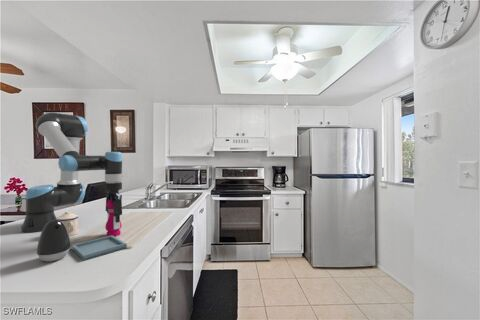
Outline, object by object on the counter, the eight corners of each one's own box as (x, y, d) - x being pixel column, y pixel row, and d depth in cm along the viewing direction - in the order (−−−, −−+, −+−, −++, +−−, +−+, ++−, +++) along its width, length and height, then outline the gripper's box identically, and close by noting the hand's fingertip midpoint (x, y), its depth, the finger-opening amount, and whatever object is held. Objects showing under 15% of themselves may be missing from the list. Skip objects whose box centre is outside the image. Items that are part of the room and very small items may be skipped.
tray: (71, 249, 96) (71, 245, 96) (111, 239, 109) (111, 235, 109) (83, 260, 86) (83, 255, 86) (126, 248, 98) (126, 243, 98)
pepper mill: (114, 238, 110) (114, 197, 110) (101, 236, 112) (101, 196, 112) (124, 233, 118) (124, 195, 117) (112, 232, 119) (112, 194, 119)
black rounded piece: (43, 267, 81) (42, 225, 80) (32, 260, 86) (32, 220, 86) (75, 257, 89) (75, 218, 89) (64, 251, 95) (64, 215, 95)
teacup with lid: (53, 234, 114) (53, 212, 114) (74, 230, 121) (74, 208, 121) (60, 240, 107) (60, 216, 107) (83, 235, 114) (83, 212, 114)
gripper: (130, 183, 111) (129, 229, 111) (113, 180, 124) (113, 221, 124) (113, 184, 105) (113, 233, 105) (98, 181, 118) (98, 224, 118)
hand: (113, 227), depth 115 cm, fingers closed on pepper mill, 7 cm apart
